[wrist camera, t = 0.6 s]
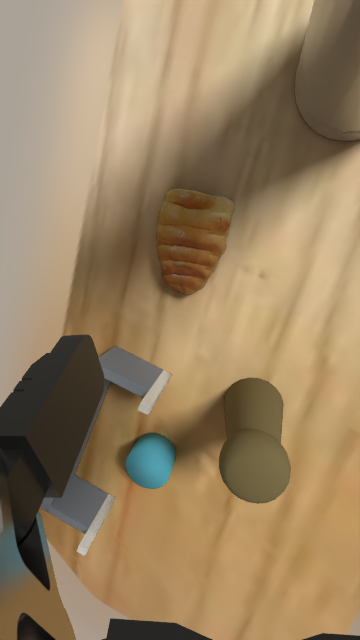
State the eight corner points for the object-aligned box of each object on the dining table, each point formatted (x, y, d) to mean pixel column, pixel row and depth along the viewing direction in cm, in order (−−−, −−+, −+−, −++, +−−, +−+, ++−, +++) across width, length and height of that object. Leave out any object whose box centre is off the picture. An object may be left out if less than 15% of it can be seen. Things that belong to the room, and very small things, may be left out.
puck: (144, 424, 35) (134, 440, 33) (182, 445, 35) (176, 463, 32) (129, 457, 37) (119, 474, 34) (166, 477, 36) (159, 496, 33)
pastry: (217, 298, 30) (212, 304, 27) (152, 284, 32) (139, 289, 28) (237, 198, 28) (235, 190, 24) (167, 187, 29) (154, 179, 25)
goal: (115, 345, 34) (81, 369, 27) (171, 374, 33) (151, 406, 26) (65, 476, 40) (28, 523, 33) (113, 503, 39) (84, 556, 32)
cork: (213, 411, 33) (196, 488, 22) (241, 367, 31) (236, 427, 21) (263, 441, 32) (270, 533, 22) (295, 396, 31) (318, 474, 20)
